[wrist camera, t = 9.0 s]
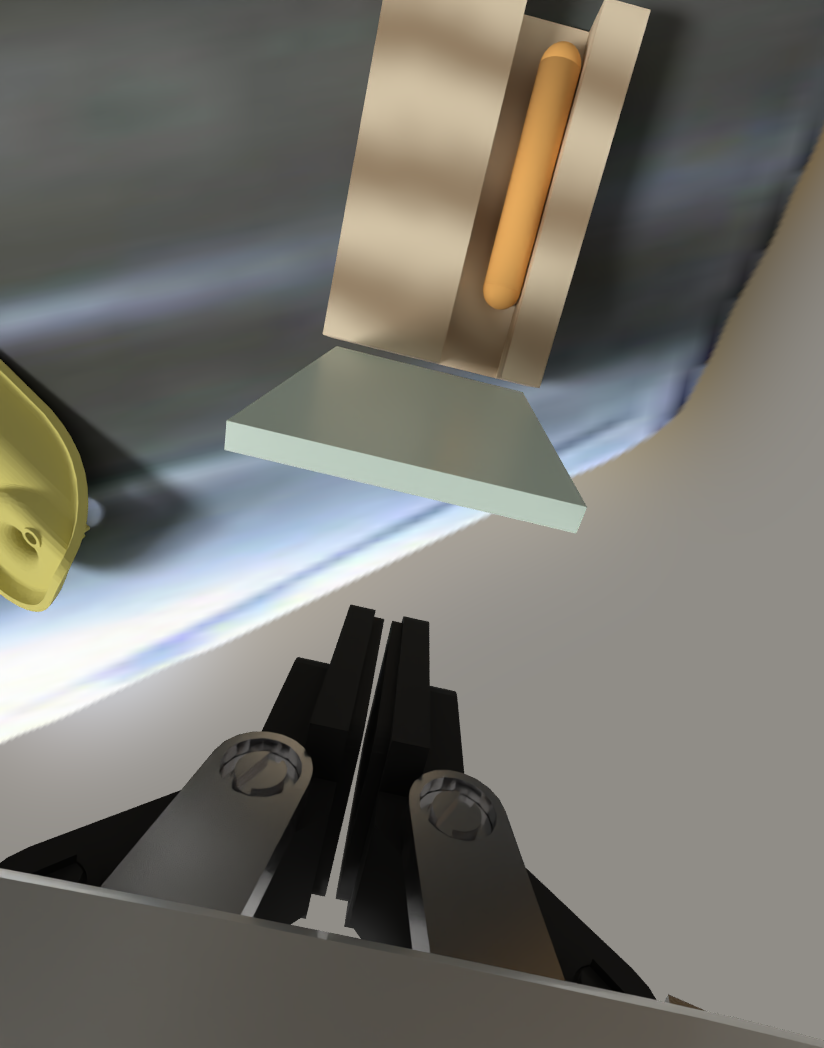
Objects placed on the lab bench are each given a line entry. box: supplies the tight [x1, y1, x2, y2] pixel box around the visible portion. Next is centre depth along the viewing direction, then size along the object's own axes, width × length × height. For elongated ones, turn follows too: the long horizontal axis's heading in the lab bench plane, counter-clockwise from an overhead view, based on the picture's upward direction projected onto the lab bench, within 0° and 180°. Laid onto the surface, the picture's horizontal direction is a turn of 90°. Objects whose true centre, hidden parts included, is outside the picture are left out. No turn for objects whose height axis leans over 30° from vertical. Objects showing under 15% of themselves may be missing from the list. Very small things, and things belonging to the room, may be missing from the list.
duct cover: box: [225, 346, 587, 533], centre depth 26 cm, size 18×12×1 cm
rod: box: [483, 41, 581, 310], centre depth 32 cm, size 14×2×2 cm, turn 167°
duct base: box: [323, 0, 651, 388], centre depth 33 cm, size 20×14×4 cm
